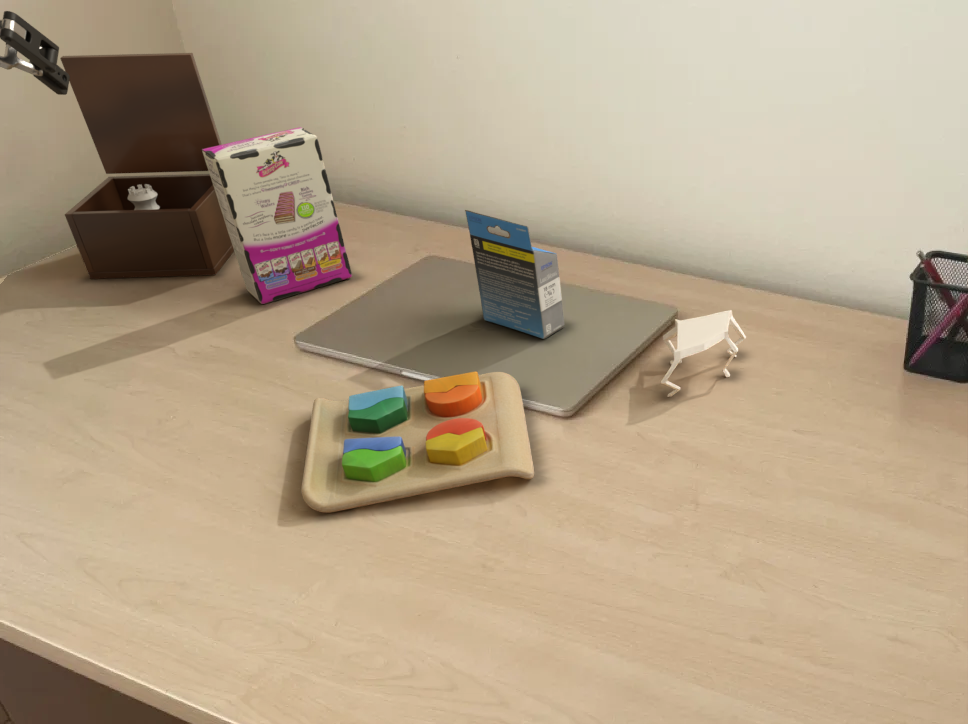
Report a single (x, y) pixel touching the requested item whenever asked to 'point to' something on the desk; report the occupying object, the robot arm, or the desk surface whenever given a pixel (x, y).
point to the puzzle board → (415, 441)
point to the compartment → (151, 228)
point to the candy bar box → (279, 213)
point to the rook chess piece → (143, 197)
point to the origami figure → (700, 339)
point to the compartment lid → (144, 111)
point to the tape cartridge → (515, 277)
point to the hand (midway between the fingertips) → (25, 85)
